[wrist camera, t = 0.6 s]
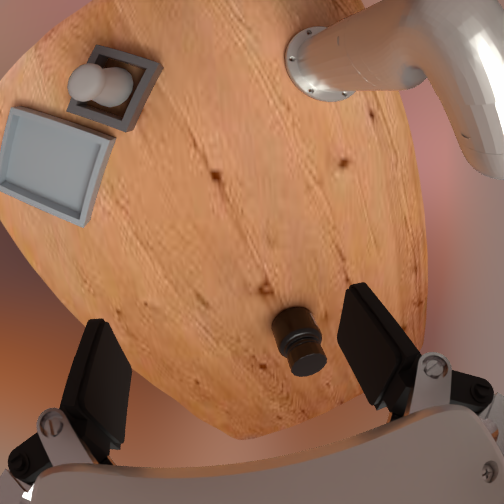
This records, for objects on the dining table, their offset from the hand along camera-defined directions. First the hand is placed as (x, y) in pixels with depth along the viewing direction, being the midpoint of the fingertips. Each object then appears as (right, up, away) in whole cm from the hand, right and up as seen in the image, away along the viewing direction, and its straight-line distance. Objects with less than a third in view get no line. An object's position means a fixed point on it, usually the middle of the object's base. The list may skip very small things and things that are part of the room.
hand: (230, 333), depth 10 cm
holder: (-18, +26, +20) cm, 38 cm away
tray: (-31, +17, +23) cm, 42 cm away
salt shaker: (-18, +26, +21) cm, 38 cm away
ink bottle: (+9, -12, +47) cm, 49 cm away
